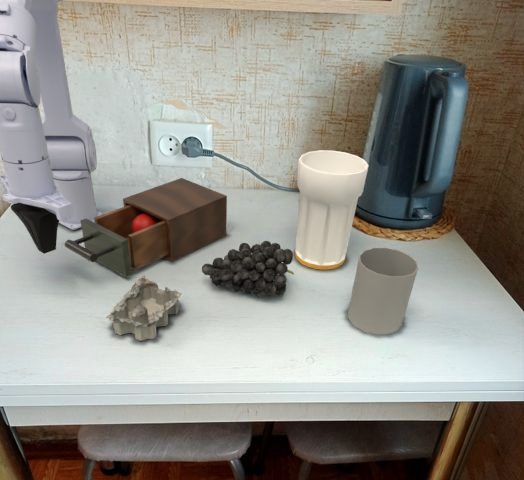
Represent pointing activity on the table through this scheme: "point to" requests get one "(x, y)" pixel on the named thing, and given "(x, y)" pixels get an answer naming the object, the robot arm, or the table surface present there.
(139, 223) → the apple
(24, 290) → the table surface
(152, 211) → the cabinet
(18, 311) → the table surface
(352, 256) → the table surface
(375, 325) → the cup
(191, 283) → the table surface
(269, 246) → the fruit
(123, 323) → the egg carton
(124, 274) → the drawer
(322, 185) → the cup
